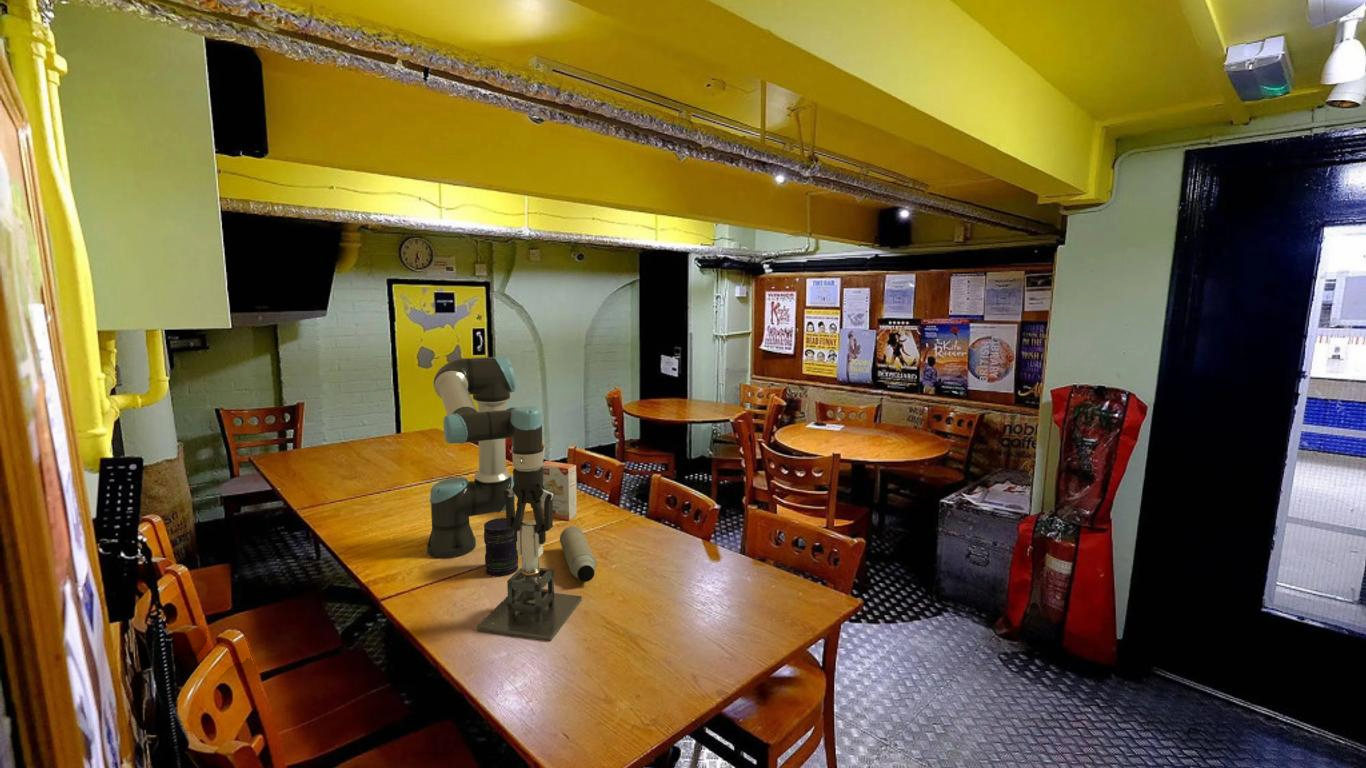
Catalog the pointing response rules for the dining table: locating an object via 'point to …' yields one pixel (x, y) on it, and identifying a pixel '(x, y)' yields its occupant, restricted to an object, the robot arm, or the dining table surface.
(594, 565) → the thermos bottle
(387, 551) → the dining table surface
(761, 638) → the dining table surface
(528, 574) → the steel tube
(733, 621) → the dining table surface
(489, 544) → the storage jar
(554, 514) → the cracker box
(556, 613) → the collar stand
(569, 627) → the dining table surface
